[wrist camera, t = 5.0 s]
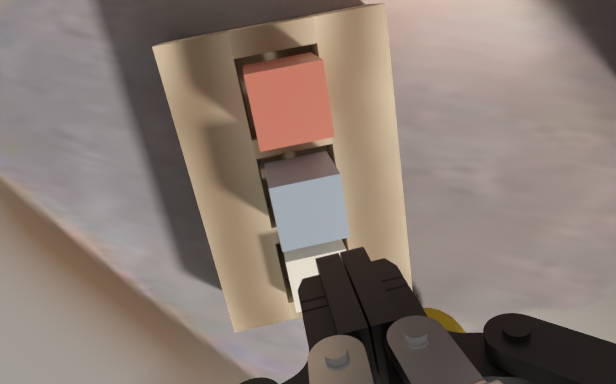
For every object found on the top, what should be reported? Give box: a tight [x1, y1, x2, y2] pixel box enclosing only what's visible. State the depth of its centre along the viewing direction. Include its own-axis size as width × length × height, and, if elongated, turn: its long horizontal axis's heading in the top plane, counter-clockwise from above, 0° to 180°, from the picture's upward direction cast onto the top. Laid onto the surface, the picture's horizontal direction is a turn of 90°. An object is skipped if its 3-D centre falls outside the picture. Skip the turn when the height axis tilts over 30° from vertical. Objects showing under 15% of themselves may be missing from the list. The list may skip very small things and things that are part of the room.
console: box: [152, 3, 412, 332], centre depth 28 cm, size 12×18×4 cm, turn 10°
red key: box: [243, 52, 335, 152], centre depth 23 cm, size 4×4×4 cm
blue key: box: [264, 151, 350, 252], centre depth 25 cm, size 4×4×4 cm
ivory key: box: [284, 239, 346, 313], centre depth 29 cm, size 4×4×4 cm
